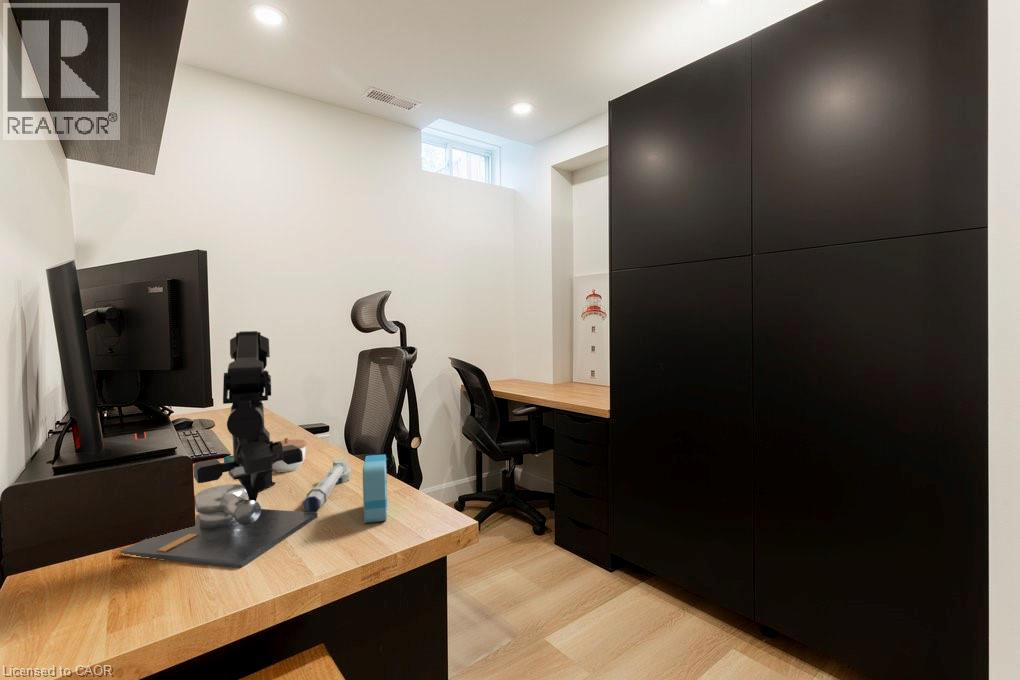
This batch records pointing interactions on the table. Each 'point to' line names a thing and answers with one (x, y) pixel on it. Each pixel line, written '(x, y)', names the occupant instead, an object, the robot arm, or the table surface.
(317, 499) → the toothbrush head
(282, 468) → the lidded jar
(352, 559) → the table surface
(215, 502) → the dryer elbow
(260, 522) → the cutting board
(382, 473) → the data package
